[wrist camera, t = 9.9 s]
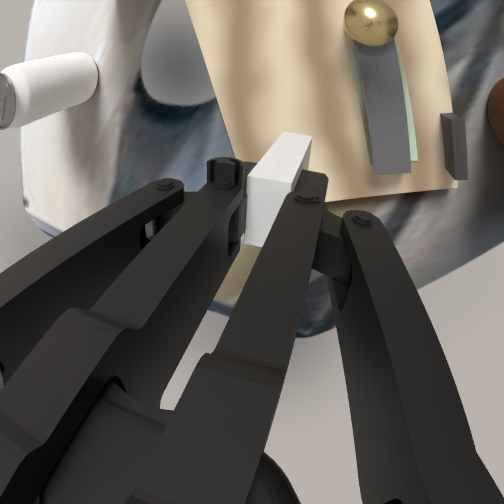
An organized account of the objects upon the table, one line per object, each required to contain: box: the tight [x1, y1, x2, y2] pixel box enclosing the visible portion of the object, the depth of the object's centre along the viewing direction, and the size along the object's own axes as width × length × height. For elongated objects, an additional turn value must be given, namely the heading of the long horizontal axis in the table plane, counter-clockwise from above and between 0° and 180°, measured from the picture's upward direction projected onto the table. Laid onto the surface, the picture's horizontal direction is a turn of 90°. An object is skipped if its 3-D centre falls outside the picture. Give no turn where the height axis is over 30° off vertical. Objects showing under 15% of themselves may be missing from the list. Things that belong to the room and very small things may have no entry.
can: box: [0, 52, 98, 130], centre depth 25 cm, size 6×6×12 cm
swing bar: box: [343, 0, 411, 175], centre depth 20 cm, size 14×4×3 cm, turn 14°
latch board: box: [185, 0, 468, 202], centre depth 23 cm, size 20×22×5 cm
